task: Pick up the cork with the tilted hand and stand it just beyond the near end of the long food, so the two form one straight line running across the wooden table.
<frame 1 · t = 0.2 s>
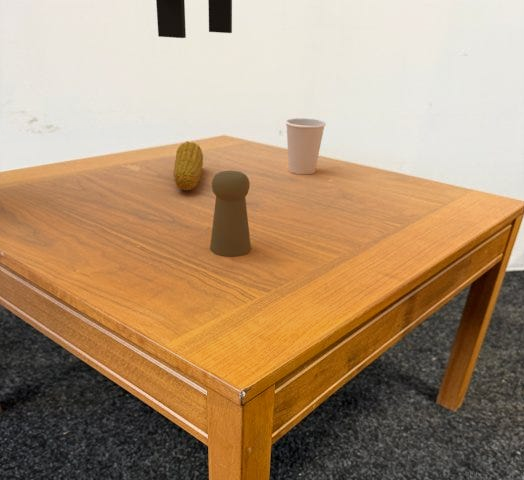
hand: (198, 35, 61), 27 cm above the table, tool pointing down, fingers open, 13 cm apart
cork: (230, 249, 81), on the table
food: (189, 181, 110), on the table
dixie cup: (302, 171, 119), on the table
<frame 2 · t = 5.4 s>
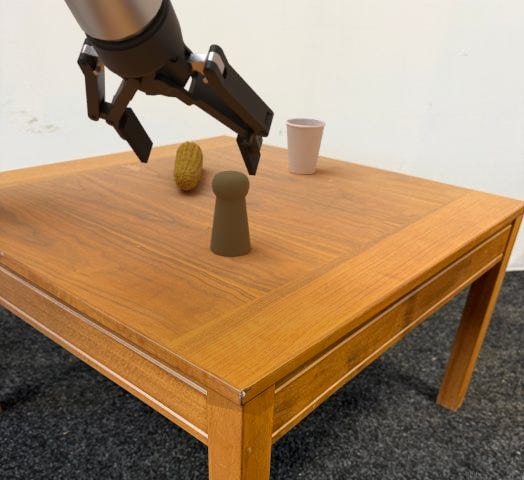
hand: (199, 159, 64), 15 cm above the table, tool tilted 45°, fingers open, 13 cm apart
nothing on the table moved.
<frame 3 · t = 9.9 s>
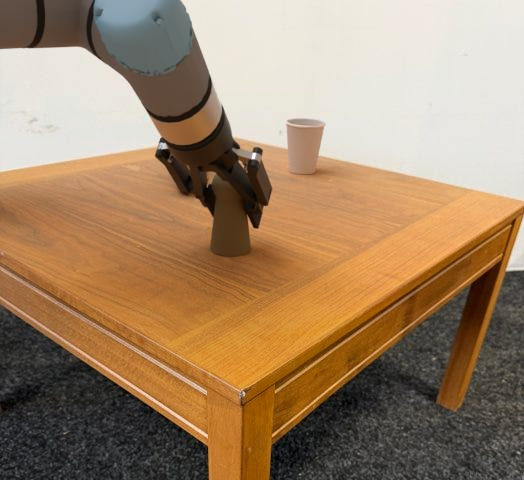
hand: (239, 217, 82), 4 cm above the table, tool tilted 45°, fingers closed on cork, 5 cm apart
cork: (230, 249, 81), on the table, touching gripper
everything else where it was.
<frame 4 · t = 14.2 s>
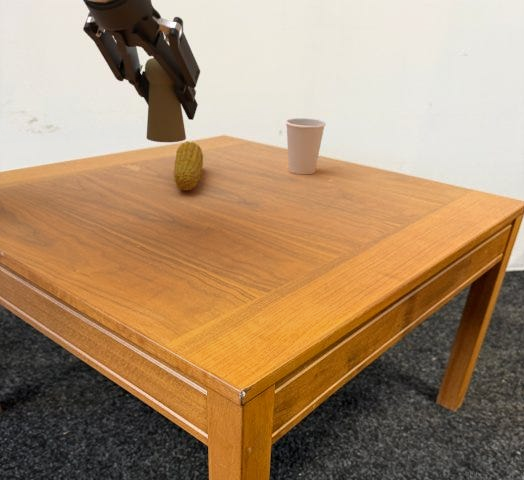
hand: (175, 110, 86), 16 cm above the table, tool tilted 45°, fingers closed on cork, 5 cm apart
cork: (166, 139, 85), point 12 cm above the table, touching gripper
everything else where it was.
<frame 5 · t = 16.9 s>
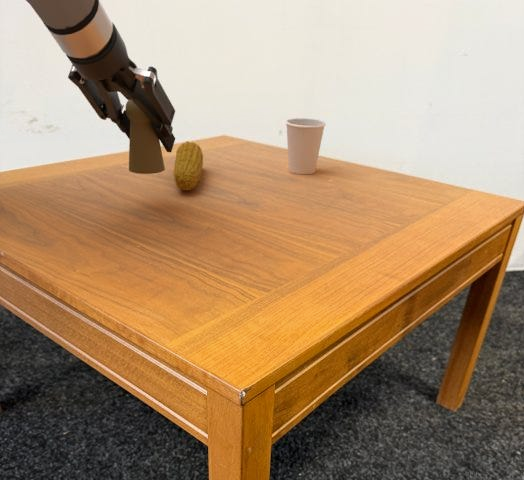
hand: (155, 143, 94), 10 cm above the table, tool tilted 45°, fingers closed on cork, 5 cm apart
cork: (146, 170, 93), point 6 cm above the table, touching gripper
everything else where it was.
when the fingers open (3 cm above the table, at t = 18.9 s): cork stays where it is, on the table.
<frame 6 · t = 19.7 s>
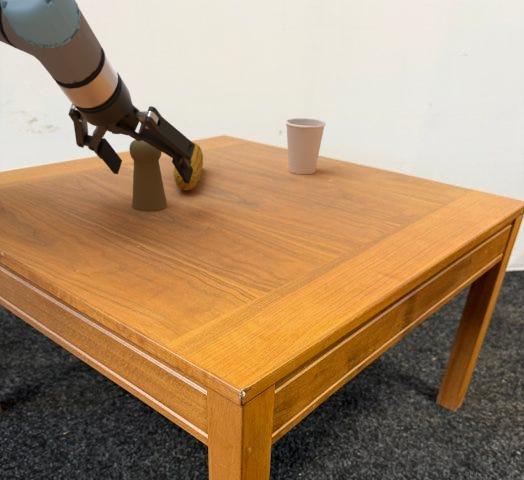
hand: (153, 171, 95), 5 cm above the table, tool tilted 45°, fingers open, 13 cm apart
cork: (149, 206, 96), on the table
everything else where it was.
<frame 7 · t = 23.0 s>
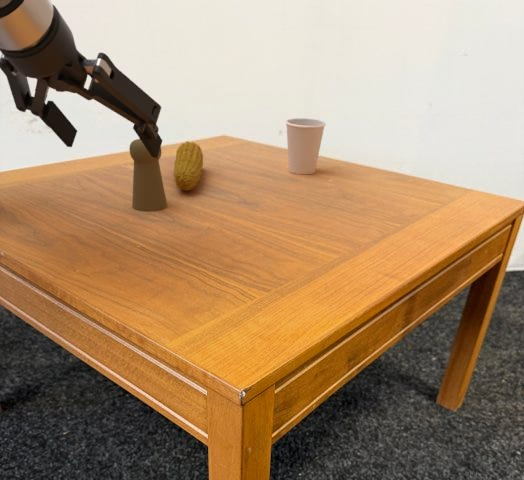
hand: (114, 143, 78), 13 cm above the table, tool tilted 45°, fingers open, 13 cm apart
nothing on the table moved.
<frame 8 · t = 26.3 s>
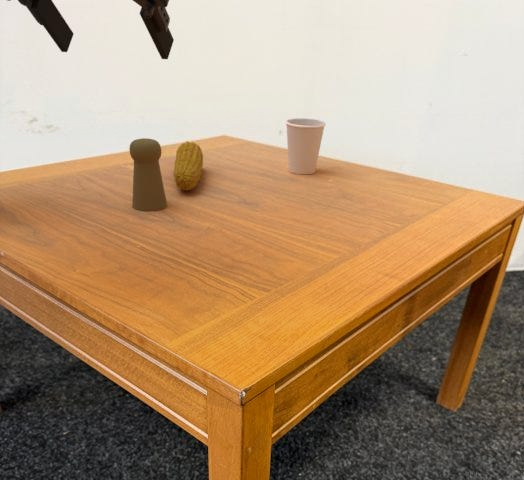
hand: (116, 46, 66), 26 cm above the table, tool tilted 45°, fingers open, 13 cm apart
nothing on the table moved.
at the end: cork 0.1 cm from the target spot on the table beside the food, on the table; cork tilted 0°; the gripper is holding nothing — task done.
